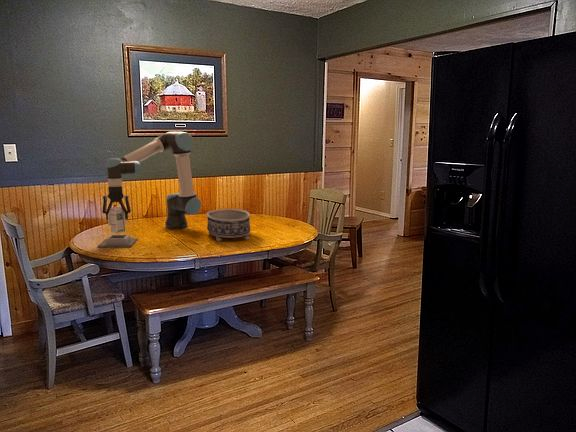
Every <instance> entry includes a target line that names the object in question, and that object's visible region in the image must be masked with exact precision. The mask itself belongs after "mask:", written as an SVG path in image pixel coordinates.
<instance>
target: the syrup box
mask: <svg viewBox="0 0 576 432" xmlns="http://www.w3.org/2000/svg"><path fill="white" fill-rule="evenodd" d="M109 214H110V226H109V227H110V233H112V234H121V233H122V234H123V233H125V232H126V225H125V226H124V217H123V214H125V213H124V211H123V209H122V207H121V206H114V207H111V208H110V210H109Z"/></svg>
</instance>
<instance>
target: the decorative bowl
mask: <svg viewBox="0 0 576 432" xmlns="http://www.w3.org/2000/svg"><path fill="white" fill-rule="evenodd" d="M206 217H207V226H206V229H207V232H208V233H209V234H211V235H213V236H215V241H216V242H222V241H223V238H226V239H227V238H232V239H233V238H241V237H243V239H244V240H246V239H249V240H250V235H249V234H250V233H251V223H250V217H251V213H250V212H249V211H247V210H246V209H241V208H240V209H239V208H225V209H223V208H222V209H221V208H220V209H215V210H214V209H213V210H210V211H207V212H206Z"/></svg>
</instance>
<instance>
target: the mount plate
mask: <svg viewBox="0 0 576 432" xmlns="http://www.w3.org/2000/svg"><path fill="white" fill-rule="evenodd" d="M138 239H139V238H138V237H131V234H125V233H122V234H121V233H119V234H110V235H108V237H106V238H105V239H104V240H103V241H101V242H100V243H99V244H98V245H97V248H98V249H102V248H103V249H107V248H108V249H112V248H113V249H115V248H118V249H119V248H121V249H123V248H132V247H133V246H134V245H135V243H137V241H138Z"/></svg>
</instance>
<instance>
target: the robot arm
mask: <svg viewBox="0 0 576 432" xmlns="http://www.w3.org/2000/svg"><path fill="white" fill-rule="evenodd" d="M193 147H194V138H193V136H192V135H191V134H189V133H188V132H187V131H185V132H184V131H168V132H165V133H162V134H161V135H159V136H157V137H155V138H154V139H153V140H152V141H151V142H149V143H147V144H145V145H143V146H141V147H139V148H138V149H137V148H136V149H135V150H134V151H132V152H129V153H128V154H126V155H123V156H122V157H119V158H118V157H111V158H108V159H107V160H106V171H107V172H106V173H107V185H108V187H107V189H108V190H107V191H108V195H103V196H102V199H103V202H102V203H103V204H102V214H105V219H106V220H107V222H108V223H107V224H108V227H110V214H109V210H110V208H112V207H113V204H114V203H118V204H119V205H120V207H122V209H123V211H124V214H123V217H124V226H125V227H126V226H127V220H128V219H129V215H128V214H130V213H131V212H132V208H131V206H130V201H129V198H130V197H129V195H125V194H124V193H123V192H124V191H123V189H124V188H123V186H122V185H123V176H124V175H137V174H140V173H141V171H142V165H141V162H143V161H146V159H148V158H150V157H153V156H154V155H156V154H158V153H163V152H165V151H170V150H171V151H172V155H173V156H174V157H175V161H176V162H175V164H176V171H177V178H178V183H179V184H178V185H179V192H177V193H170V194H167V196H166V212H167V217H166V220H165V222H164V228H166V229H170V230H179V229H186V228H188V226H189V225H188V220H187V218H186V215H189V216H190V215H191V216H193V215H196V214H197V213H199V211H200V210H201V209H202V201H201V199H199V198H198V197H197V192H196V191H194V184H193V178H192V177H193V175H192V169H191V160H190V154H191V153H192V149H193ZM108 199H109V204H107V203H108ZM123 199H124V200H125V201H123ZM124 202H125V204H124ZM107 205H108V206H107ZM125 205H126V207H125Z"/></svg>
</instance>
